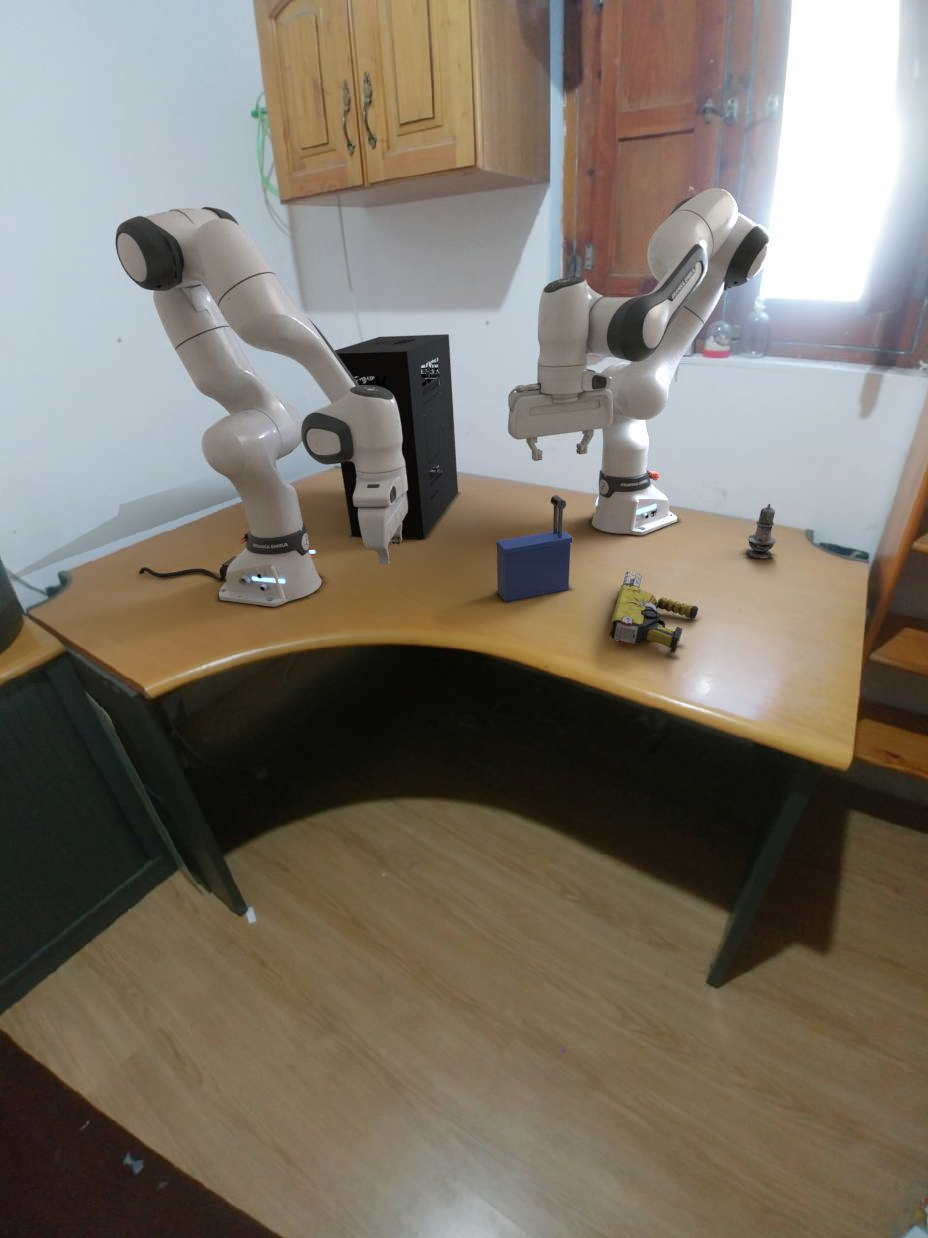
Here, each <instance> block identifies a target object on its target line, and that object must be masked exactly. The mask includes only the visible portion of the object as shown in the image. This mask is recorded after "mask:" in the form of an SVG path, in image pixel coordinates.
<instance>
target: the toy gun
mask: <svg viewBox="0 0 928 1238" xmlns="http://www.w3.org/2000/svg"><path fill="white" fill-rule="evenodd" d="M632 577H634V578H632ZM642 578H643V576H642V574H641V573H640V572H636V573H635V574H633V571H630V570H629V571H626V572H625V576H624V579H623V583H622V584H621V586H620V589H619V592H618V597H617V599H616V603H615V608H614V611H613V615H612V617H611V621H610V625H609V626H610V627H609V632H608V637H609V638H610V640H614V641H617V644H619V645H621V644H623V646H624V645H625V646H627V645H628V644H631V645H638V644H642V643H644V642H646V641H650V642H653V643H656V644H660V645H663V646H665V647H667V648H669V649H670V653H673V654H675V652H676V651H677V648H678V646H679V644H680V640H681V637H682V633H683V628H682V627H680V626H675V630H672V629H670V628H667V627H666V622H665V621H664V620H662V619H660V617H661V615H660V613H659V612H658V609H659V610H662V611H663V610H665V611H666V612H672V613H673V614H678V615H680V616H685V617H686V618H689V619H691V620H693V619H696V617H697V615H698V612H699V607H698V606H696V605H692V604H687V603H685V602H680V601H678V600H676V601H674V600H673V599H667V597H660V598H659V599H658V600H657V598H656V596H655V595H654V594H653V593H651V592H647V591H644V590H642V589H640V586H641V581H642Z"/></svg>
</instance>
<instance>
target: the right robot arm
mask: <svg viewBox="0 0 928 1238" xmlns="http://www.w3.org/2000/svg"><path fill="white" fill-rule="evenodd" d="M772 246H773V236H772V234H771V233H770V232H769V231H768V230H767V229H766V228H765V227H764V226H763V225H761V224H756V223H755V222H753V221H752V220H751V219H749V218H747V217H746V216H745V215H743V214H741V213H739V212H738V206H737V203H736V201H735V199H734V197H733V196H732V194H731V193H730V192H729V191H727V190H725V189H723V188H720V187H712V188H708V189H706V190H703V191H701V192H699V193H698V194H695V196H689V197H687V198H685V199H683V200H681V201H679V203H677V204H676V205H675V207H674V208H673V209H672V211H671V212H670V214H669V216H668V217H667V218H666V219H665V220H664V221H663V222H661V224H660V225H659V226H658V227H657V228H656V229H655V231H654V232H653V234H652V235H651V237H650V239H649V241H648V244H647V252H646V257H647V264H648V268H649V270H650V272H651V274H652V275H653V277H654V278H655V280H656V281H657V282H658V284H656V285H655V287H654V289H653V290H652V291H651V292H648V293H646V294H642V295H637V296H617V297H616V296H604V295H602V294H600V293H598V292H597V291H595V290H593V288H591V287H590V285H588V280H587V279H586V278H584V277H582V276H571V277H566V278H560V279H556V280H553V281H551V282H549V283H548V284H546V285H545V286H544V288H542V292H541V295H540V299H539V304H538V314H537V341H538V345H539V355H538V357H537V366H536V367H537V369H536V370H537V371H536V372H537V374H536V377H537V378H536V379H537V383H535V382H534V383H530V384H525V385H523V384H520V385H519V384H518V385H516V386H515V388H513V389H511V390H510V392H509V393H508V396H507V401H508V403H507V405H508V409H509V410H508V420H507V433H508V434H509V436H511V437H512V438H513V439H515V440H518V441H519V440H525V442H526V444H527V445H528V447H529V449H530V451H531V460H532V461H534V462H538V461H542V460H543V451H542V450H541V449H539V448H538V447H537V446H536V444H537V443H538V438H542V437H548V436H549V437H550V436H556V435H557V436H558V435H564V434H571V433H578V432H579V433H580V432H581V434H582V435H583V437H582V438H581V440H580V442H579V443H576V454H578V455H586V454H588V448H589V447H588V446H589V444H590V443H591V441H592V439H593V438H594V435H595V431H596V430H601V431H602V432H601V433H602V453H601V468H600V470H599V474H598V492H599V493H598V495H597V498H596V501H595V506H596V507H595V511H594V514H593V517H592V520H591V525H592V526H593V527H594V528H595V529H597V530H599V531H601V532H605V533H611V534H623V535H625V534H626V535H632V536H633V535H634V536H645V535H646V534H650V533H652V532H654V531H657V530H660V529H662V528H665V527H668V526H670V525H672V524H675V523H677V522H678V516H677V515H676V514H675V513H674V512H672V511H670V503H669V502H670V501H669V498H668V497H667V496H666V495H665V494H664V493H663V492H661V491H660V490H659V489H658V488H656V487H655V486H654V485H652V483H651V480H653V481H658V479H659V478H660V473H659V472H657V471H654V470H651V471H649V470H648V469H647V466H648V458H649V457H648V456H649V446H650V438H649V434H648V431H647V430H648V429H647V426H646V421H648V420H652V419H654V418H656V417H658V416H659V415H660V414H661V413H662V412H663V411H664V409H665V408H666V406H667V403H668V400H669V389H670V385H671V383H672V380H673V378H674V375H675V373H676V371H677V369H678V366H679V364H680V362H681V360H682V359H683V357H684V355H685V353H686V352H687V351H688V349H689V348H690V346H691V345H692V343H693V342H694V340H695V338H696V337H697V336H698V335H699V333H700V332H701V330H702V329H703V327H704V325H705V324H706V322H707V321H708V319H710V317H711V315H712V313H713V311H714V309H715V308H716V306H717V304H718V303H719V300H720V298H721V296H722V294H723V293H724V291H725V292H727V291H729V290H732V288H733V287H740V286H743V285H744V284H746V283H748V282H750V281H751V280H753V278H755V276H756V275H757V274H758V273H759V272H760V271H761V270H762V268H763V267H764V266H765V264H766V262H767V260H768V257H769V255H770V252H771V249H772ZM587 356H597V357H605V358H613V359H614V358H615V359H619V360H623V361H628V362H617V363H614V364H611V365H608V366H607V367H605V368H604V369H603V370H602V371H601V372H596V370H593V369H589V368H588V357H587Z"/></svg>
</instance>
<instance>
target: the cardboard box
mask: <svg viewBox="0 0 928 1238" xmlns="http://www.w3.org/2000/svg"><path fill="white" fill-rule="evenodd" d="M450 349H451V347H450V334H449V333H445V334H417V335H416V334H415V335H392V336H391V335H390V336H389V335H388V336H378V337H377V336H376V337H374V338H371V339H368V340H367V339H366V340H364V341H361V342H358V343H354V344H351V345H347V346H345V347H341V348H338V349H334V351H335V352H336V353H337V355H338V356H339V358H340V359H341V361H342V362H343V363H344V365H345V366H346V368H347V369H348V370H349V372H350V373H351V375H352V376H353V378H354V379H355V380H356V382H357V383H358V384H359V385H374V386H379V387H383V388H385V389H387V390H388V391H390V392H391V393H392V394H393V396H394V398H395V400H396V403H397V406H398V410H399V415H400V421H401V428H402V437H403V441H402V455H403V457H404V460H405V466H406V475H407V485H408V490H407V491H406V495H407V501H408V512H407V514H406V515H405V517H404V519H403V520H402V532H401V535H402V539H418V540H419V539H421V540H422V539H423V540H424V539H425V538H426V537H427V536H428V534H429V533H430V531H431V530H432V528H433V527H434V526H435V525H436V523H437V522H438V521H439V519H440V518H441V517H442V515H443V513H444V512H445V511H446V509H447V508H448V507H449V505H450V504H451V503H452V501H453V500H454V499H455V497H456V496H457V494H458V493H459V486H458V484H459V483H458V469H457V468H458V467H457V453H456V433H455V419H454V401H453V400H454V399H453V384H452V381H453V380H452V367H451V350H450ZM433 361H434V362H433ZM429 363H430V364H429ZM422 366H424V367H422ZM330 404H332V403H331V402H330ZM340 469H341V476H342V483H343V488H344V495H345V501H346V509H347V514H348V520H349V527H350V533H351V536H353V537H362V535H361V530H360V525H359V519H358V508H359V507H355V506H354V504H353V494H354V491H355V488H356V478H357V475H356V468H355V464H354V463H353V462H352V461H347V462H343V463H340Z"/></svg>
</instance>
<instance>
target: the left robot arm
mask: <svg viewBox="0 0 928 1238" xmlns="http://www.w3.org/2000/svg"><path fill="white" fill-rule="evenodd" d="M114 244H115V251H116V254H117V257H118V261H119V263H120V265H121V267H122V269H123V271H124V272H125V274H126V275H127V276H128V277H129V278H130V280H132V281H133V282H134V283H135V284H136V285H137V286H139V287H140V288H142V289H144V290H147V291H152V292H153V293H152V298H153V299H152V300H153V303H154V306H155V309H156V312H157V315H158V317H159V320H160V322H161V325H162V327H163V329H164V332H165V333H166V335H167V337H168V339H169V340H168V341H170V344H171V345H172V347H173V349H174V351H175V353H176V354H177V356H178V358H179V360H180V361H181V363H182V365H183V367H184V368H185V370H186V372H187V374H188V376H189V377H190V379H191V380H192V382H193V384H194V386H195V388H196V389H197V390H198V392H200V394H202V395H204V396H206V397H208V398H210V399H212V400H213V401H215V402H217V403H218V404H219V405H220V406H222V407H223V408H224V409H225V410H226V411H227V413H228V414H229V415H226V416H224V417H221V418H219V419H218V420H216V422H214V423H213V424H211V425H210V426H209V427H208V428H207V429H206V430H205V431H204V432H203V434H202V437H201V442H200V443H201V444H200V445H201V450H202V453H203V457H204V458H205V459H204V460H205V461H206V463H208V465H209V466H210V467H211V469H213V470H214V471H215V472H216V473H218V474H219V475H222V476H223V477H225V478H226V479H228V480H229V481H230V483H231V484H232V486H233V487H234V488H235V490H236V492H237V494H238V496H239V497H240V500H241V502H242V506H243V509H244V513H245V516H246V520H247V524H248V528H249V529H248V530H247V531H245V533H244V534H243V536H242V537H241V538H240V541H241V545H243V544H244V543H245V544H246V546H245V548H244V549H243V550H242V551H240V553H238V554H237V555H233V556H232V557H231V558H229V559H228V560H226V561H224V563H221V567H219V570H218V571H219V572H218V573H219V576H218V575H217V574H215V573H213V572H212V571H210V570H208V569H206V568H199V567H198V568H188V569H183V570H177V571H173V572H163V573H161V572H157V571H154V570H152V569H151V568H149V567H146V566H144V567H142V568H140V569H139V571H138V574H140V575H141V574H142V575H143V573H145V572H146V573H147V574H150V575H151V576H153V577H157V578H173V577H177V576H183V575H189V574H197V573H199V574H205V575H208V576H209V577H211V578H213V579H215V580H217V581H218V582H223V581H225V579H226V581H225V582H224V583H223V584H222V586H221V587H220V588H219V591H218V598H219V600H220V601H226V602H231V603H232V602H233V603H239V604H240V603H241V604H249V605H256V606H265V607H272V608H274V607H279V606H282V605H284V604H286V603H288V602H291V601H294V600H298V599H301V598H304V597H308V596H309V595H311V594H313V593H315V592H316V591H317V590H318V589H319V588H320V587H321V586H322V581H323V580H322V578H321V577H320V575H319V573H318V570H317V568H316V566H315V564H314V562H313V561H314V560H313V558H312V555H311V554H316V550H315V549H310V541H309V535H308V532H307V528H306V524H305V523H304V521H303V518H302V511H301V507H300V502H299V497H298V492H297V490H296V489H295V488H294V487H293V486H292V485H291V484H289V483H288V482H285V481H284V480H283V478H282V476H281V474H280V472H279V469H278V467H277V461H279V460H280V459H282V458H284V457H286V456H288V455H290V454H292V453H293V452H294V451H295V450H296V449H297V448H298V447H299V446H300V445H301V443H302V444H303V447H304V449H305V450H306V453H307V454H308V455H309V456H310V457H311V458H312V459H313V460H315V461H316V462H318V463H320V464H322V465H338V464H341V463H343V462H347V461H352V462H353V463H354V464H355V468H356V475H357V478H356V488H355V491H354V494H353V504H354V506H355V507H359V508H358V519H359V525H360V530H361V535H362V536H361V539H362V543H363V546H364V548H365V549H366V550H368V551H375V553H376V555H377V556H378V561H379V564H380V565H381V566H388V565H390V562H391V561H392V559H391V553H390V552H389V549H388V547H389V543H390V542H391V544H392V545H400V544H401V543H402V542H403V538H402V535H401V532H402V520H403V519H404V517H405V515H406V514H407V512H408V501H407V495H406V491H407V490H408V485H407V475H406V466H405V460H404V457H403V455H402V441H403V437H402V428H401V421H400V415H399V410H398V406H397V403H396V400H395V398H394V396H393V394H392V393H391V392H390V391H388V390H387V389H385V388H383V387H379V386H374V385H359V384H358V383H357V380H355V379H354V378H353V376H352V375H351V373H350V372H349V370H348V369H347V368H346V366H345V365H344V363H343V362H342V361H341V359H340V358H339V356H338V355H337V353H336V352H335V349H334V348H333V346H332V344H330V342H329V341H328V339H327V338H326V337H325V335H324V333H322V331H321V329H319V328H318V327H317V326H316V324H315V323H314V322H313V321H312V320H311V319H310V318H309V317H308V316H307V315H306V314H305V313H304V312H303V311H302V310H301V309H300V307H299V306H298V305H297V304H296V303H295V301H294V300H293V299H292V297H291V296H290V295H289V293H288V292H287V290H286V288H285V287H284V286H283V284H282V282H281V281H280V280H279V278H278V276H277V274H276V273H275V271H274V270H273V268H272V266H271V265H270V263H269V262H268V260H267V259H266V257H265V256H264V255H263V253H262V251H261V250H260V249H259V247H258V246H257V245H256V244H255V242H254V241H253V240H252V239H251V237H250V236H249V235H248V234H247V233H246V232H245V230H244V228H242V227H241V226H240V224H239V222H238V221H237V219H235V217H234V216H233V215H232V214H230V213H229V212H228V211H225V210H223V209H222V208H221V209H220V208H217V207H212V206H211V207H210V206H204V207H201V208H192V207H190V208H189V207H187V208H185V207H183V208H173V209H169V210H167V211H161V212H157V213H152V214H149V215H146V216H143V215H136V216H134V217H131V218H129V219H126V220H125V221H122V222H121V223H120V224H118V226H117V228H116V231H115V243H114ZM234 333H235V334H236V335H237V336H238V338H240V340H241V341H242V342H244V343H245V344H246V345H248V346H250V347H252V348H255V349H257V350H261V351H265V352H270V353H274V354H278V355H280V356H284V357H286V358H289V359H291V360H293V361H295V362H296V363H298V364H299V365H301V366H302V367H303V368H304V369H305V370H307V372H308V373H309V374H310V376H311V378H312V379H313V380H314V381H315V383H316V384H317V386H318V388H320V390H321V391H322V392H323V394H324V395H325V397H326V398H327V399H328V401H329V402H330V403H329V404H328V405H325V406H323V407H319V408H317V409H315V410H313V411H312V412H310V413H309V414H308V415H306V416H305V417H303V416H302V414H301V413H300V411H299V410H298V409H297V408H296V407H295V406H294V405H292V404H290V403H288V402H286V401H284V400H283V399H281V398H280V397H279V396H278V395H277V394H276V393H275V392H274V391H273V390H272V389H271V388H270V387H269V386H268V385H267V383H265V381H264V380H263V379H262V377H260V375H259V374H258V372H256V370H255V369H254V367H253V366H252V364H251V362H250V361H249V359H248V357H247V355H246V354H245V352H244V350H243V348H242V346H241V344H240V343H239V340H238V339H237V337H236V335H235V334H234ZM331 403H332V404H331Z"/></svg>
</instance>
